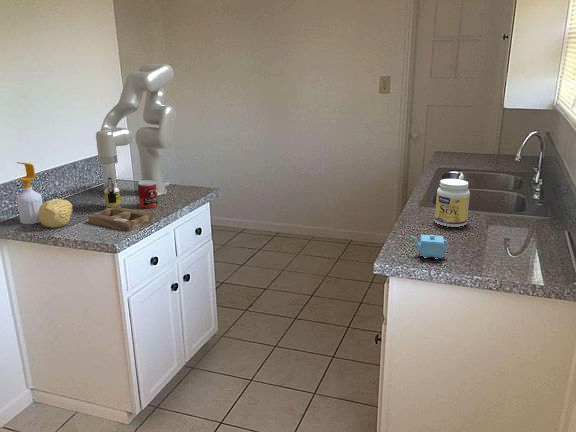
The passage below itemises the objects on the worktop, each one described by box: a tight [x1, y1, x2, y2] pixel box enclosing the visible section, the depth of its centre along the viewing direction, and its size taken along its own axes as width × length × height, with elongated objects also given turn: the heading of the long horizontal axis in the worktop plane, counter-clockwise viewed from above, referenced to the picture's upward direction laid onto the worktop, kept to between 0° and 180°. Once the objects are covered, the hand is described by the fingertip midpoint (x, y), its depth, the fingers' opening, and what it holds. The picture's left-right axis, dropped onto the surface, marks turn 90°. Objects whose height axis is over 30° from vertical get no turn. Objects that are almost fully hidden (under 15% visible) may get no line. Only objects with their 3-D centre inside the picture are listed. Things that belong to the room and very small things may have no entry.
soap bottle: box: [16, 161, 44, 225], centre depth 211 cm, size 9×9×25 cm
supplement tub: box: [434, 178, 471, 228], centre depth 204 cm, size 12×12×17 cm
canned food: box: [137, 180, 159, 210], centre depth 231 cm, size 8×8×11 cm
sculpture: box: [38, 198, 73, 229], centre depth 208 cm, size 12×12×11 cm
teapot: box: [410, 234, 449, 259], centre depth 175 cm, size 12×6×8 cm, turn 77°
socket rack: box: [87, 206, 155, 232], centre depth 212 cm, size 14×22×3 cm, turn 61°
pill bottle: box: [103, 182, 122, 209], centre depth 229 cm, size 6×6×11 cm
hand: (112, 200), depth 230 cm, fingers closed on pill bottle, 6 cm apart
